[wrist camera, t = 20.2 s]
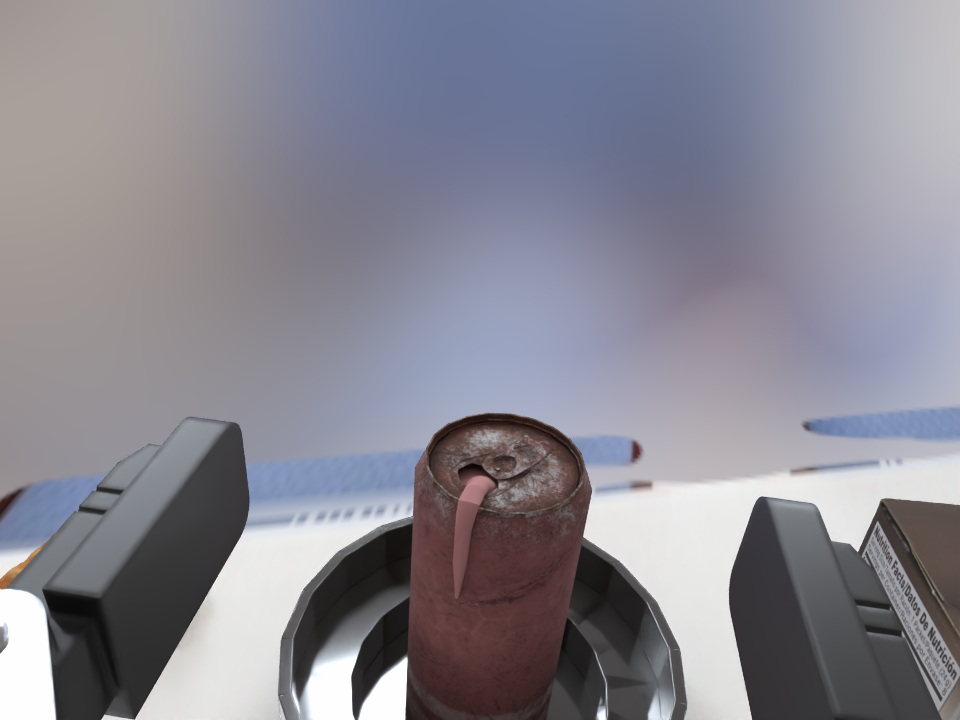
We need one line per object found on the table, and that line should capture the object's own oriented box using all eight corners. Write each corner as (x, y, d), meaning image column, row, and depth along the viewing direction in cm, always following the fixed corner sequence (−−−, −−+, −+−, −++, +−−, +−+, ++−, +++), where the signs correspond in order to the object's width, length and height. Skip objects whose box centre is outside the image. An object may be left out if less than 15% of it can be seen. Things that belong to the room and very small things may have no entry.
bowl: (646, 605, 38) (666, 534, 36) (678, 977, 25) (713, 905, 22) (348, 559, 40) (347, 487, 37) (220, 889, 26) (204, 812, 23)
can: (380, 761, 30) (383, 495, 23) (432, 637, 35) (448, 391, 28) (526, 810, 28) (578, 545, 21) (557, 674, 34) (607, 426, 27)
